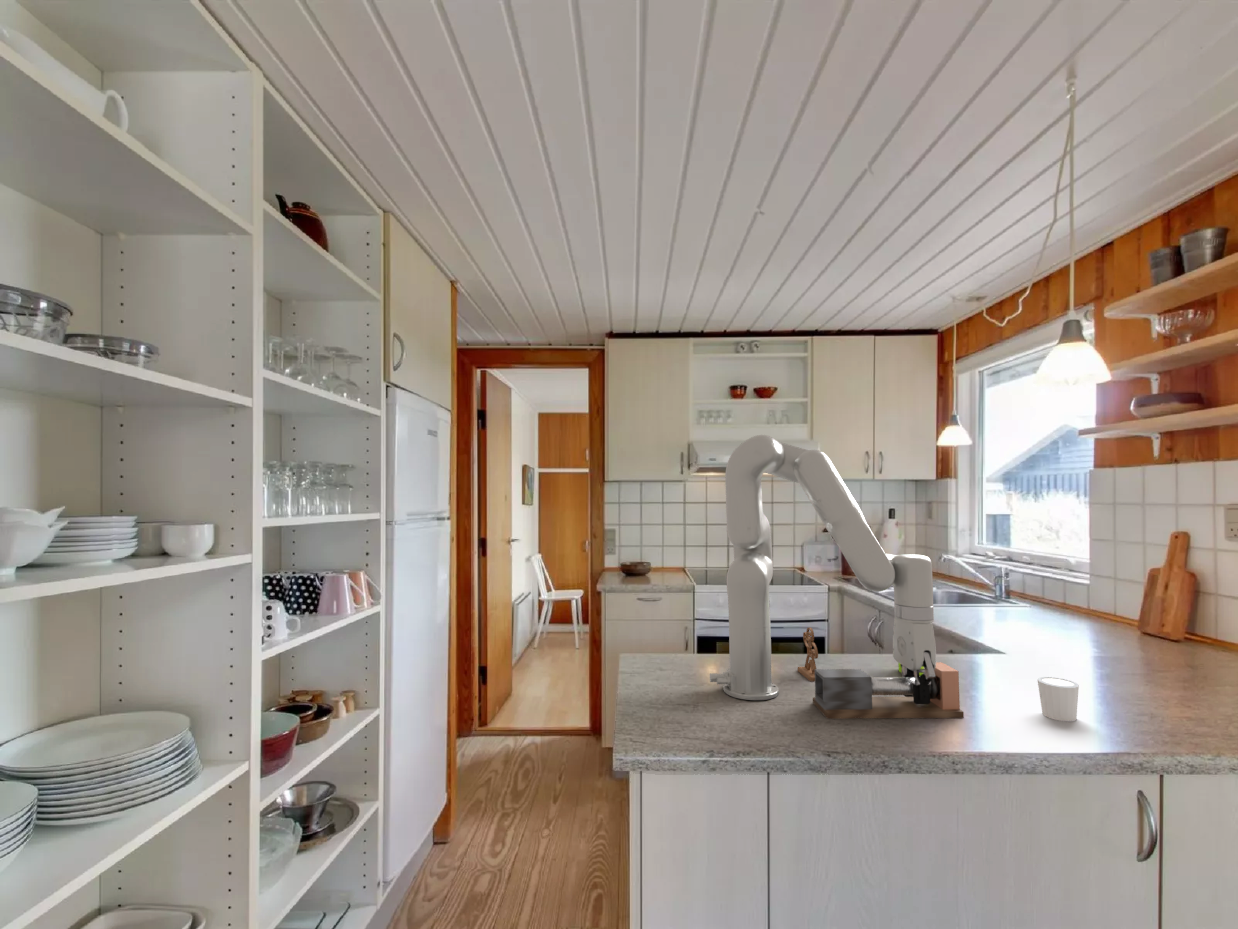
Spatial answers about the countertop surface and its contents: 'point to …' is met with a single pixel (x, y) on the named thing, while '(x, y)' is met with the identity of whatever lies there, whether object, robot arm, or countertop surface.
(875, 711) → the stand
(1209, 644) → the countertop surface
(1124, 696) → the countertop surface
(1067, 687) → the white cup
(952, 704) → the socket block
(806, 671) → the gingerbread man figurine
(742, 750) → the countertop surface
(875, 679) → the steel tube
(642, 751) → the countertop surface
